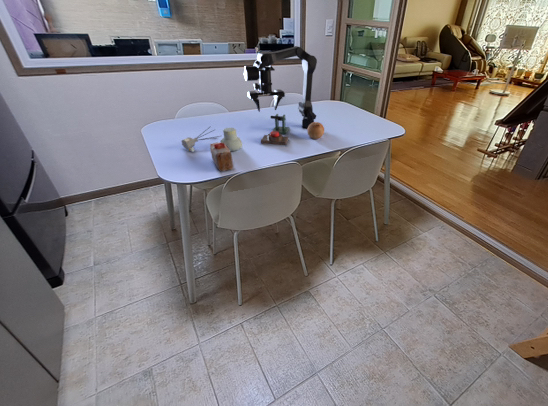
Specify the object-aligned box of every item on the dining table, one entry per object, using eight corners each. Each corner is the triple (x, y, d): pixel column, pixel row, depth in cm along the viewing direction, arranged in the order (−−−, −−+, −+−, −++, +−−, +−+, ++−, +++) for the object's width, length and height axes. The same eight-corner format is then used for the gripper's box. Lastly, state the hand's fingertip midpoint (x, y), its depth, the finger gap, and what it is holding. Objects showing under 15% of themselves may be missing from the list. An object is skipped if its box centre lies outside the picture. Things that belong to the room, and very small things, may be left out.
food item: (210, 160, 130) (206, 139, 125) (228, 157, 134) (225, 136, 128) (218, 172, 120) (214, 150, 115) (236, 169, 124) (234, 147, 119)
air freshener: (244, 151, 140) (241, 131, 134) (227, 154, 136) (224, 134, 130) (236, 143, 147) (234, 124, 141) (220, 146, 143) (217, 127, 137)
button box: (288, 140, 155) (288, 133, 153) (285, 146, 148) (285, 138, 146) (264, 138, 155) (264, 131, 153) (261, 144, 148) (260, 136, 146)
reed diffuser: (176, 135, 135) (211, 121, 148) (177, 146, 140) (211, 132, 153) (191, 148, 133) (225, 133, 146) (191, 159, 138) (224, 143, 152)
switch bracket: (285, 135, 162) (285, 118, 156) (271, 133, 162) (271, 117, 157) (289, 129, 170) (288, 113, 165) (275, 128, 170) (275, 112, 165)
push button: (279, 134, 151) (279, 131, 150) (278, 137, 148) (277, 134, 147) (271, 134, 152) (271, 130, 151) (269, 137, 148) (269, 133, 147)
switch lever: (281, 120, 152) (281, 115, 151) (270, 119, 152) (270, 114, 151) (285, 121, 163) (286, 116, 163) (275, 120, 163) (275, 116, 163)
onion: (318, 145, 159) (320, 132, 151) (303, 138, 160) (305, 125, 152) (325, 134, 164) (328, 122, 156) (311, 127, 165) (313, 114, 156)
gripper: (276, 76, 156) (278, 105, 165) (242, 77, 148) (245, 108, 157) (284, 80, 149) (285, 110, 157) (249, 82, 140) (252, 114, 149)
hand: (267, 110), depth 155 cm, fingers open, 9 cm apart
